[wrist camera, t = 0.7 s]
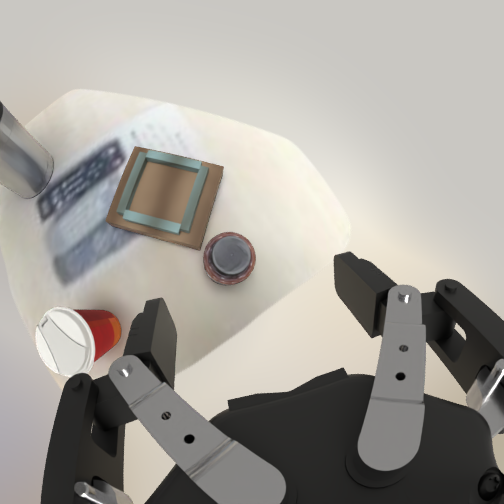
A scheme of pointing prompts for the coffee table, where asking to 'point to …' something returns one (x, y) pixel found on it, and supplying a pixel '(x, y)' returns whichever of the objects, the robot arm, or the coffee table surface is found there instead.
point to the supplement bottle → (229, 258)
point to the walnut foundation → (165, 197)
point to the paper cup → (75, 338)
